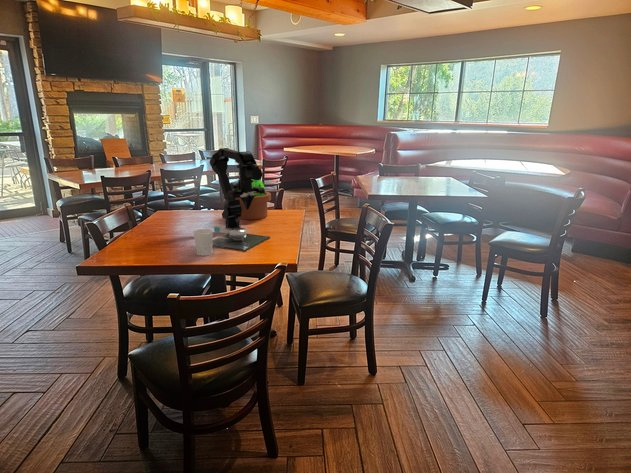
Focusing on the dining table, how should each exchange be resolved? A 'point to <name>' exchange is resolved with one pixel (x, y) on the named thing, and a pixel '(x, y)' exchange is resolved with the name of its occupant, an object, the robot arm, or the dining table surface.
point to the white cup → (203, 241)
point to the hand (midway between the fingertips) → (247, 209)
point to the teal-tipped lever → (232, 232)
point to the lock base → (239, 242)
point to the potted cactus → (256, 204)
